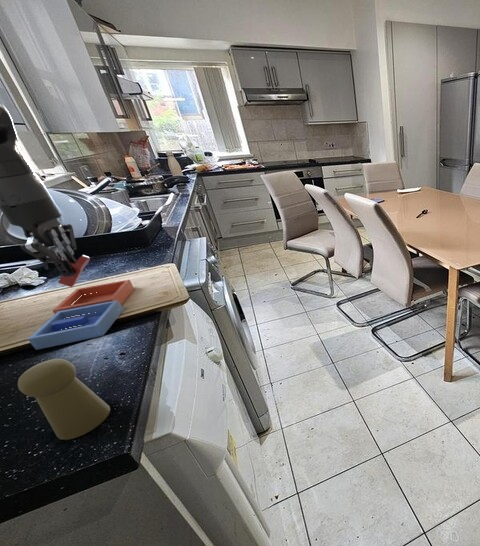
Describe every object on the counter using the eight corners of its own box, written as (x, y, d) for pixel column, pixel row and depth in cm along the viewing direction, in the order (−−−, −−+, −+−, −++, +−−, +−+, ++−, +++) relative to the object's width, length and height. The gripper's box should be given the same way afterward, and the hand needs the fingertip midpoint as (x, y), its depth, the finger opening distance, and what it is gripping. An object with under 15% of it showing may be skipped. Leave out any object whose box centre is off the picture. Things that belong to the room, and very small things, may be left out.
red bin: (59, 321, 71) (52, 310, 69) (83, 298, 79) (76, 288, 78) (118, 309, 74) (112, 299, 72) (134, 289, 82) (129, 279, 81)
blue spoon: (54, 337, 65) (47, 327, 64) (63, 327, 68) (57, 318, 67) (102, 327, 67) (96, 318, 66) (109, 318, 70) (103, 309, 69)
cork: (117, 399, 50) (79, 347, 45) (101, 431, 45) (56, 376, 40) (70, 412, 49) (25, 359, 43) (47, 447, 44) (-7, 392, 38)
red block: (69, 289, 72) (55, 284, 70) (77, 282, 74) (64, 277, 73) (84, 261, 70) (70, 256, 69) (92, 255, 73) (79, 250, 72)
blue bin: (36, 350, 62) (27, 339, 61) (65, 321, 70) (57, 311, 69) (104, 336, 65) (96, 325, 64) (124, 310, 73) (118, 300, 72)
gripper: (23, 193, 68) (69, 264, 77) (-29, 210, 57) (32, 291, 65) (66, 188, 70) (106, 258, 79) (24, 204, 59) (76, 283, 67)
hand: (72, 273), depth 72 cm, fingers closed on red block, 1 cm apart
